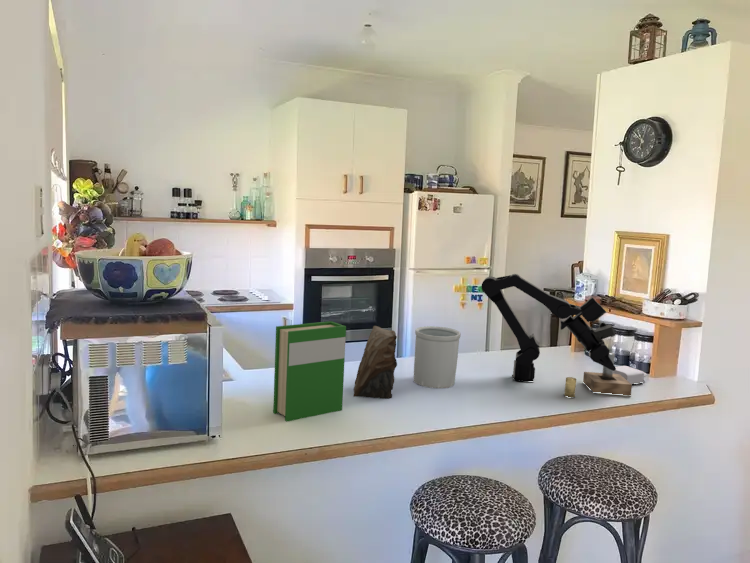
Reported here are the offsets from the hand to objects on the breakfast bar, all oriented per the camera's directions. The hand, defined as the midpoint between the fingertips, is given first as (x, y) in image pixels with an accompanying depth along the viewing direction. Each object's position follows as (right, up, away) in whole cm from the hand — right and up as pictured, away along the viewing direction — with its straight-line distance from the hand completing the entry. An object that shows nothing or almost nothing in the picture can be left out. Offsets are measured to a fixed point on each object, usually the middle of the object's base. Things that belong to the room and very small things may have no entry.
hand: (612, 366), depth 198 cm
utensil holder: (-60, -5, -1) cm, 60 cm away
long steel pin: (-2, -8, +1) cm, 8 cm away
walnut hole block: (-2, -8, +1) cm, 8 cm away
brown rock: (-81, -6, -16) cm, 83 cm away
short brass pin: (-17, -8, -9) cm, 21 cm away
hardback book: (-98, -8, -35) cm, 104 cm away
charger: (+11, -7, +14) cm, 19 cm away
